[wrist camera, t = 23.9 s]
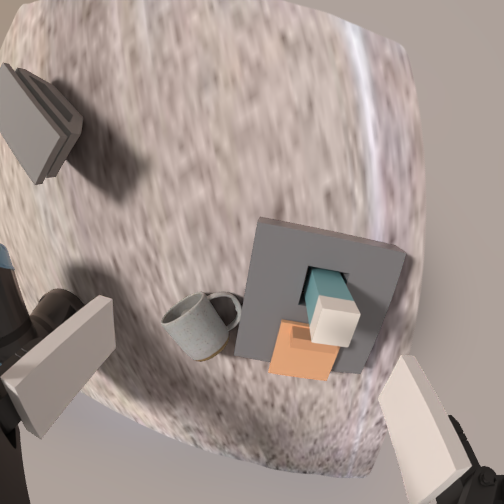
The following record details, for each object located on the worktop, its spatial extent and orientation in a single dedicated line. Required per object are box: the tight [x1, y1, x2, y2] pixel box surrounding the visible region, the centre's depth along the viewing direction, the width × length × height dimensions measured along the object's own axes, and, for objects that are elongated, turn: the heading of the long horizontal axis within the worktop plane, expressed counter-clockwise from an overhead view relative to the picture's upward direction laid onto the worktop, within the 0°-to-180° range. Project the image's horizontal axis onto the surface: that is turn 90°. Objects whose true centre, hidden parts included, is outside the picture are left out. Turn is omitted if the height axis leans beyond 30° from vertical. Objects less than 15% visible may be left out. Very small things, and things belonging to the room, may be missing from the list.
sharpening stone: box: [0, 63, 83, 185], centre depth 32 cm, size 25×8×11 cm, turn 46°
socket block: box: [234, 217, 406, 374], centre depth 39 cm, size 20×20×4 cm
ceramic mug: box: [161, 292, 242, 362], centre depth 40 cm, size 11×8×8 cm
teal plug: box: [303, 266, 361, 347], centre depth 34 cm, size 4×4×14 cm
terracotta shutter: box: [268, 319, 340, 381], centre depth 37 cm, size 9×9×4 cm
